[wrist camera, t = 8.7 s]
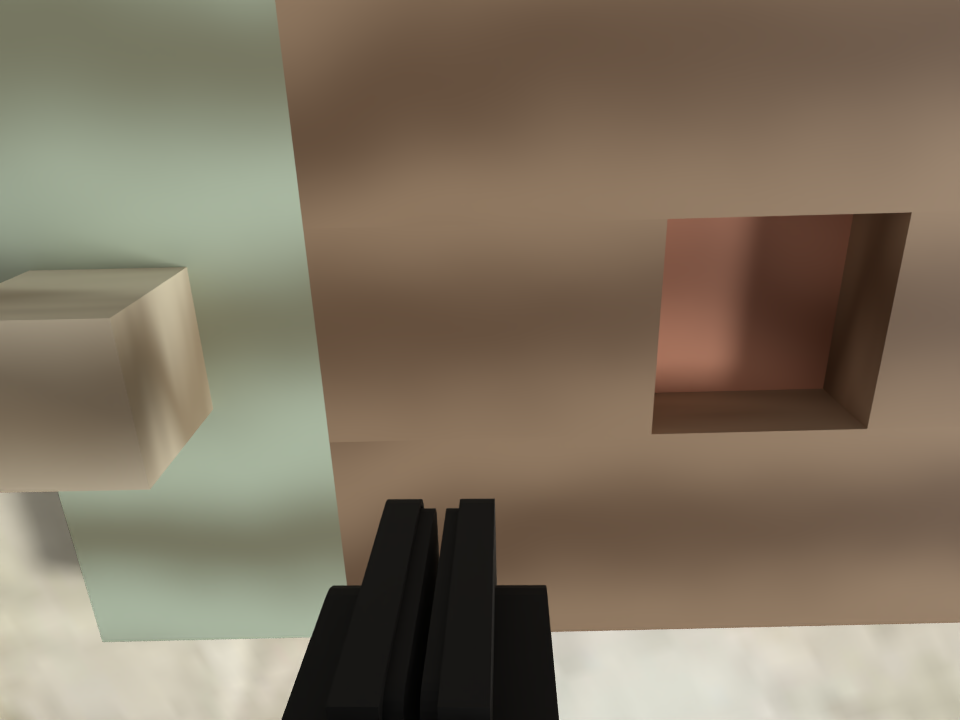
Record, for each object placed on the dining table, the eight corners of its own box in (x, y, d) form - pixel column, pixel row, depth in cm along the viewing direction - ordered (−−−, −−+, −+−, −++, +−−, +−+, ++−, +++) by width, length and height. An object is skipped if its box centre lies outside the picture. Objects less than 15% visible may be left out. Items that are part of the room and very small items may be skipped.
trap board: (1098, 556, 25) (1176, 617, 22) (144, 578, 25) (102, 642, 22) (1349, -108, 17) (1517, -143, 14) (-23, -66, 17) (-118, -93, 15)
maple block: (213, 409, 19) (150, 489, 15) (67, 412, 19) (-30, 493, 15) (187, 266, 18) (109, 318, 14) (28, 270, 18) (-90, 322, 14)
